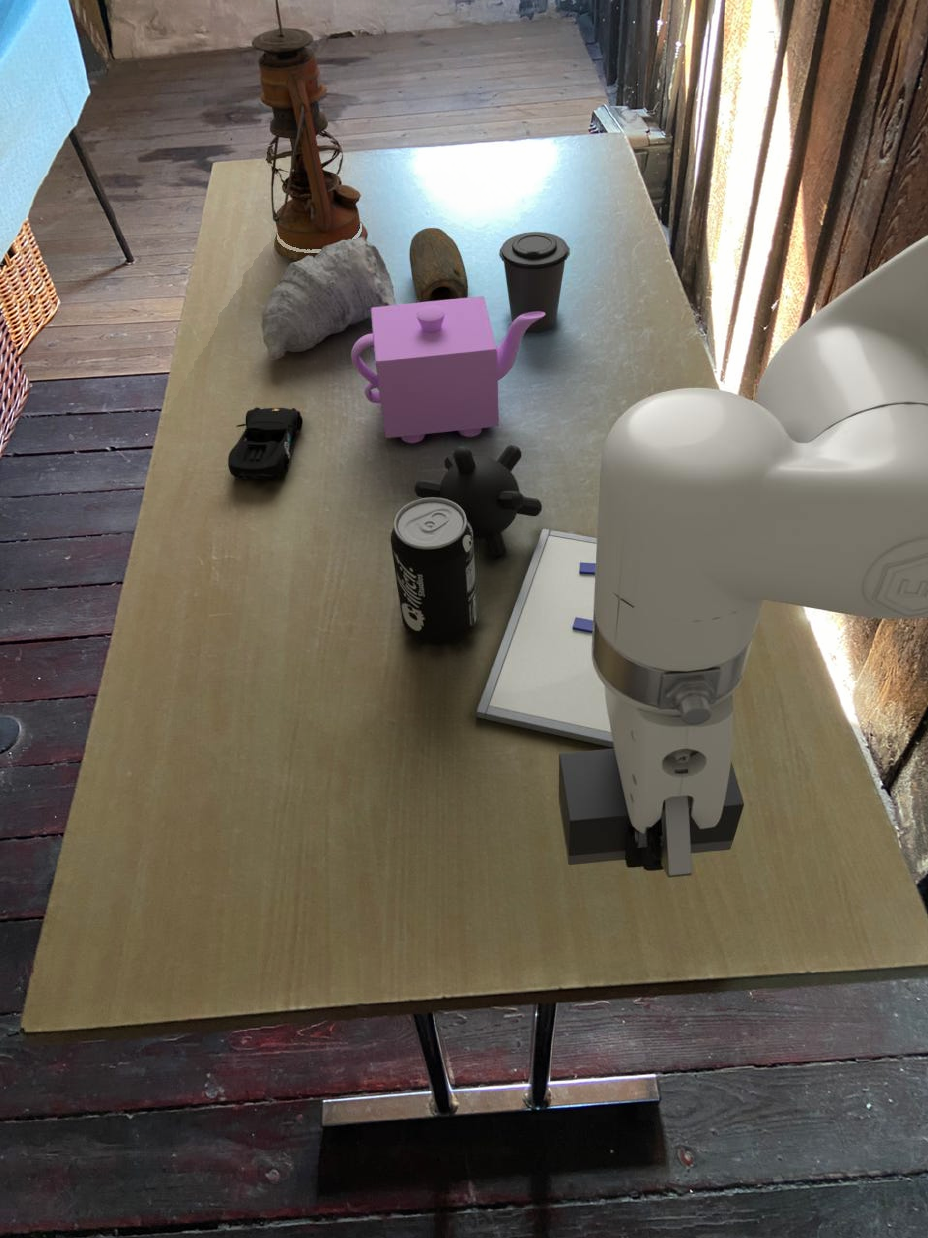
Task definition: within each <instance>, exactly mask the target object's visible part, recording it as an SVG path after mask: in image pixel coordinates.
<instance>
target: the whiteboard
mask: <svg viewBox="0 0 928 1238" xmlns="http://www.w3.org/2000/svg"><path fill="white" fill-rule="evenodd" d="M596 548H597V537H594V536H588V535H582V534H577V533H571V532H567V531H566V532H564V531H559V530H555V529H554V530H553V529H549V528H542V529H541V532H540V534H539V537H538V540H537V543H536V545H535V548H534V551H533V553H532V556H531V559H530V562H529V565H528V567H527V570H526V573H525V576H524V578H523V581H522V585H521V587H520V589H519V593H518V595H517V597H516V600H515V603H514V606H513V609H512V612H511V615H510V618H509V620H508V623H507V625H506V628H505V631H504V633H503V637H502V639H501V642H500V645H499V648H498V650H497V652H496V653H497V654H496V656H495V659H494V661H493V664H492V666H491V670H490V672H489V676H488V678H487V680H486V683H485V686H484V690H483V692H482V694H481V698H480V699H479V703H478V705H477V709H476V718H479V719H484V720H487V721H492V722H496V723H502V724H506V725H510V726H514V727H518V728H523V729H529V730H532V731H537V732H541V733H545V734H550V735H554V736H558V737H559V736H560V737H564V738H569V739H572V740H577V741H582V742H585V743H590V744H595V745H599V746H605V747H608V748H611V749H614V744H613V739H612V734H611V729H610V723H609V718H608V712H607V706H606V698H605V685H604V684H603V682H602V681H601V680H600V678H599V677H598V675H597V672H596V670H595V668H594V665H593V661H592V653H591V646H592V633H589V632H584V631H579V630H574V629H572V628H573V624H574V621H575V617H578V618H583V619H588V620H593V612H594V588H595V575H592V574H579V568H580V562H583V563H596Z"/></svg>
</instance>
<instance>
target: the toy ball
mask: <svg viewBox="0 0 928 1238" xmlns="http://www.w3.org/2000/svg"><path fill="white" fill-rule="evenodd" d="M522 457H523V454H522V450H521V448H520V447H519V446H518V445H513V444H510V445H507V446H506V447H505V448H504V451H502V452H501V454H500V456H499V457H498V458H497V460H496V459H493V458H490V457H487V456H477V455H476V456H473V453H472V451H471V450H470V448H469V447H468V446H463V445H461V446H458V447H456V448H455V450H454V451H453V453H450V454H447V455H446V456H445V458H444V460H443V463H444V467H445V469H446V472H445V473H444V475H443V476H442V478H441V480H440V481H436V480H435V481H434V480H429V479H423V478H422V479H419V480H417V481H416V483H415V484H414V495H416V497H418V498H419V499H422V498H432V497H434V498H443V499H447V500H450V501H452V502H454V503H456V504H457V505H459V506H460V507H461V508H462V509H463V511H464V513H465V515H466V519H467V521H468V522H469V524H470V525H471V528H472V531H473V540H484V542H485V545H486V548H487V552H488V555H489V557H490V558H491V559H493V560H500V559H503V558H504V557H505V556H506V554H507V547H506V543H505V541H504V538H503V535H502V533H504V531H505V530H506V529H508V528H509V526H510V525H512V524H513V522H514V520H515V519H516V517H517V515H522V516H527V517H528V516H529V517H538V515H540V514H541V512H542V510H543V505H542V501H540V499H538V498H534V497H527V496H524V495H523V494H522V493H521V491H520V487H519V484H518V480H517V479H516V477H515V475H514V474H513V473H512V471H513V469H514V468H515V467H516V465H518V463H519V462H520V460H521V459H522Z"/></svg>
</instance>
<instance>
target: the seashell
mask: <svg viewBox="0 0 928 1238" xmlns="http://www.w3.org/2000/svg"><path fill="white" fill-rule="evenodd" d="M391 305H397V303H396V298H395V290H394V285H393V283H392V279H391V275H390V273H389V271H388V269H387V266H386V263H385V261H384V258H383V257H382V256H381V254H380V252H379V250H378V248H377V246H375V245H373V244H372V243H368V242H367V239H366V240H365V238H364V237H359V238H356V239H353V240H352V239H348V240H341V241H339V242H337V243H334V244H330V245H327V246H324V247H323V248H322V249H321V251H320V252H319V253H318V254H317V255H316V256H315V258H313V256H309V255H308V256H306V257H305V258H303V259H302V260H300V261H293V262H291V263H290V264H289V266H287V267H286V269H285V272H284V274H283V276H282V277H281V278H280V279H279V281H278V285H277V286H276V287H275V288H274V289H273V290H272V291H271V292H270V294H269V296H268V300H267V302H266V305H265V307H264V309H262V319H261V330H262V339H263V343H264V345H265V346H266V348H267V352H268V354H269V358H270V359H271V360H273V361H274V360H278V359H282V358H283V357H284V356H285V353H286V352H293V353H301V352H302V353H303V352H305V351H307V350H310V349H313V348H314V347H315V346H317V344H319V343H321V342H322V341H323V340H325V338H326V337H328V336H330V335H333V334H339V333H341V332H343V331H344V330H345V329H346V328H347V327H348V326H349V325H355V324H358V323H360V322H362V321H364V320H365V319H367V318H372V316H371V308H373V307H382V306H391Z"/></svg>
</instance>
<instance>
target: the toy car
mask: <svg viewBox="0 0 928 1238" xmlns="http://www.w3.org/2000/svg"><path fill="white" fill-rule="evenodd" d="M303 423H304V422H303V417H302V415H301V412H300V411H299V410H297V408H295V407H292V408H288V407H269V408H268V407H267V408H260V407H254V408H253V409H249V410H247V411H246V413H245V423H242V424H238V425H236V426H235V427H236V428H239V427H245V429H244V431H243V432H242V435H241V437H240V438H239V439H238V441H237V442H236V444H235V445H234V446H233V447H232V448H231V450H230V451H229V453H228V457H227V467H228V470H229V473H230V475H231V476H233V477H235V478H237V479H240V480H243V479H259V480H261V479H267V480H270V481H271V480H276V479H279V478H282V477H284V475H287V473H288V471H289V464H290V463H291V458H292V453H293V448H294V446H295V441H296V439H297V437H298V434H299V432H300V431H301V430H302V428H303Z"/></svg>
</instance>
